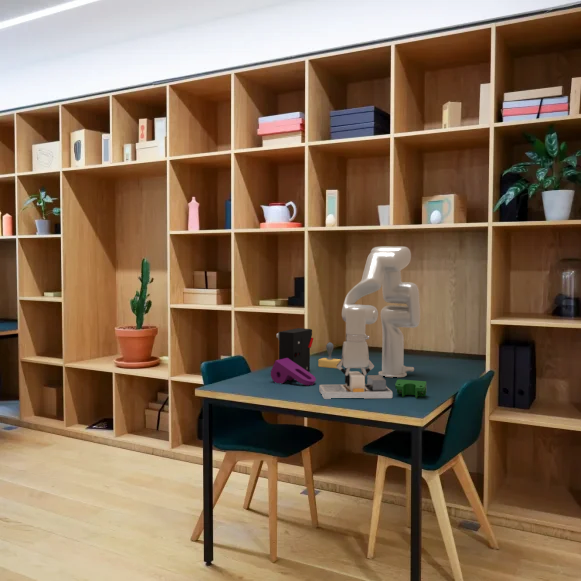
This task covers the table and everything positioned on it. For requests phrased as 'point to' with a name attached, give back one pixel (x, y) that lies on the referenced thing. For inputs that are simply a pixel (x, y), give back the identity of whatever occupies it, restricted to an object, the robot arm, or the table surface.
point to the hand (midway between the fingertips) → (355, 384)
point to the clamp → (411, 387)
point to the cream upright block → (356, 380)
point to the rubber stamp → (328, 361)
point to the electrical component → (296, 346)
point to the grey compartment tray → (358, 389)
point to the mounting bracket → (290, 372)
